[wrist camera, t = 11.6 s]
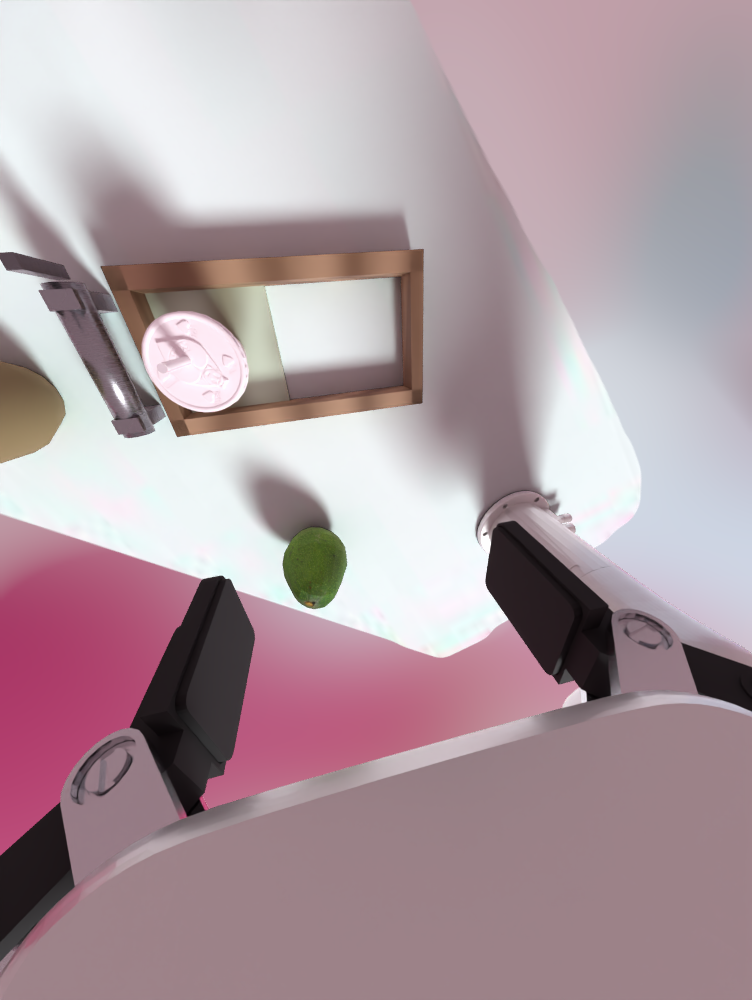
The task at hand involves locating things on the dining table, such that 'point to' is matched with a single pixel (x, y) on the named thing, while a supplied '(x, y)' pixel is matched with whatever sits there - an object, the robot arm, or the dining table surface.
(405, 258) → the bay
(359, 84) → the dining table surface
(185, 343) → the smoothie
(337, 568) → the avocado
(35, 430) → the squeeze bottle
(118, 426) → the grey metal handle
